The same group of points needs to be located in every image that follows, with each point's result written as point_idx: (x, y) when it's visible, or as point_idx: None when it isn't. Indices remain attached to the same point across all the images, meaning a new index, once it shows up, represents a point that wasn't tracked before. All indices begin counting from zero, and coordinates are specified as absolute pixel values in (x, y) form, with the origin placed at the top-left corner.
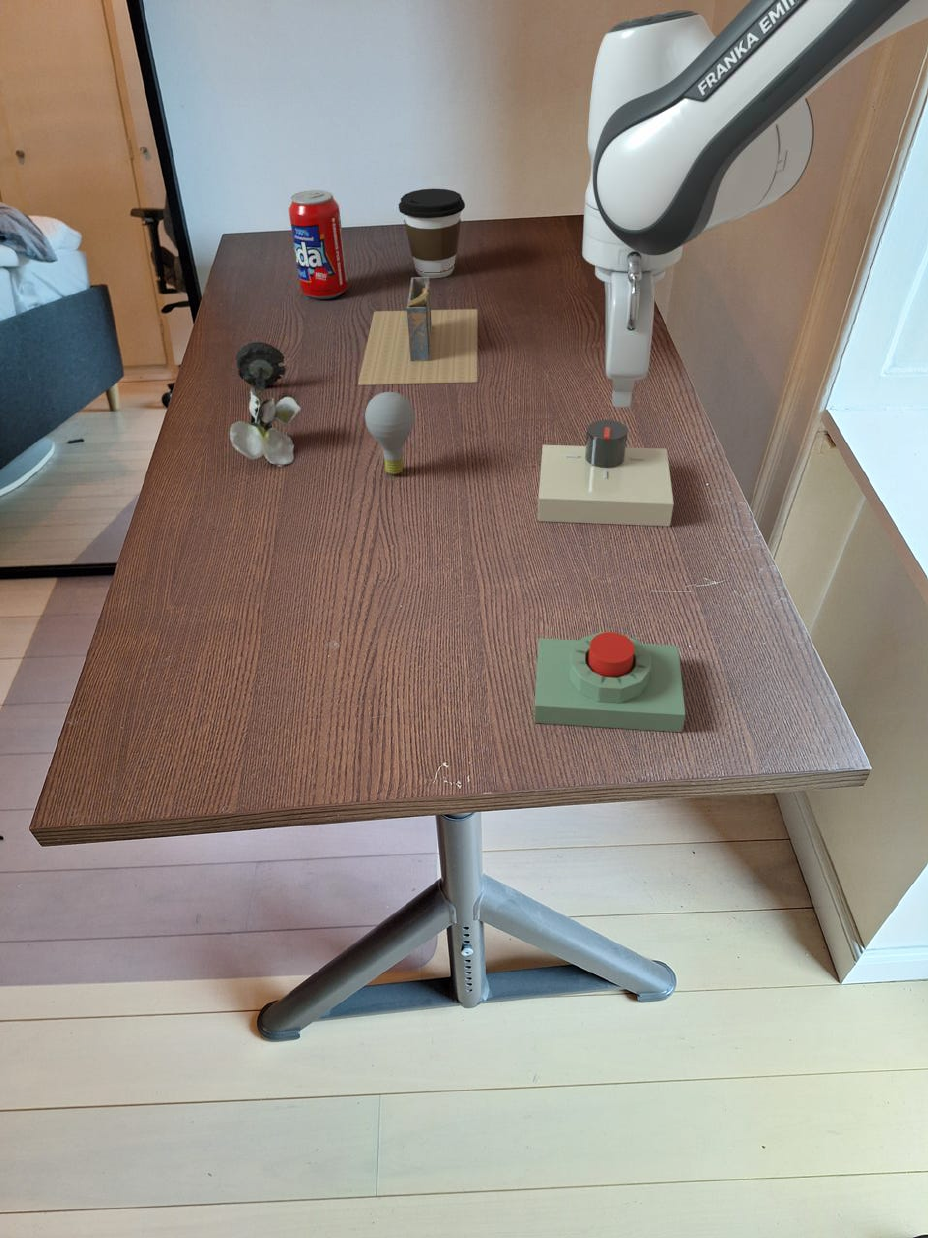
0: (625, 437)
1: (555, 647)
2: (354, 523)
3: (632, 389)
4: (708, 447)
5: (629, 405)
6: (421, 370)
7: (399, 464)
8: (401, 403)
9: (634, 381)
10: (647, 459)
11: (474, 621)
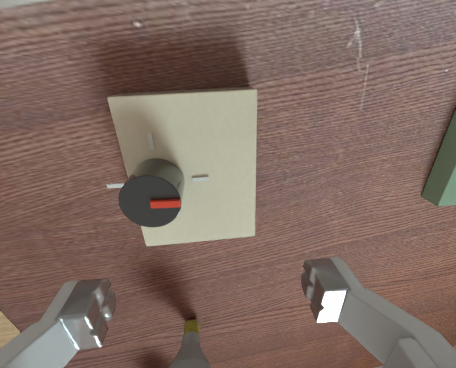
0: (160, 175)
1: (451, 194)
2: (260, 323)
3: (373, 292)
4: (17, 11)
5: (340, 258)
6: (1, 346)
7: (195, 327)
8: None
9: (417, 320)
10: (149, 126)
11: (374, 240)
